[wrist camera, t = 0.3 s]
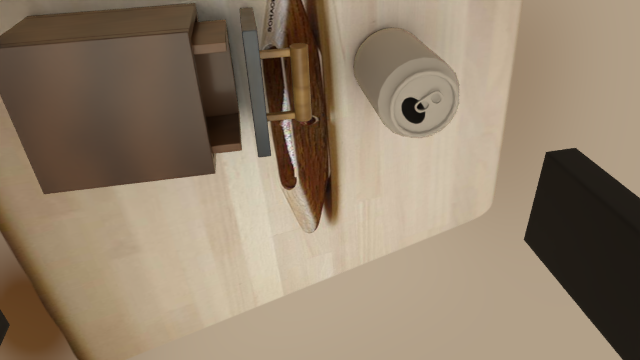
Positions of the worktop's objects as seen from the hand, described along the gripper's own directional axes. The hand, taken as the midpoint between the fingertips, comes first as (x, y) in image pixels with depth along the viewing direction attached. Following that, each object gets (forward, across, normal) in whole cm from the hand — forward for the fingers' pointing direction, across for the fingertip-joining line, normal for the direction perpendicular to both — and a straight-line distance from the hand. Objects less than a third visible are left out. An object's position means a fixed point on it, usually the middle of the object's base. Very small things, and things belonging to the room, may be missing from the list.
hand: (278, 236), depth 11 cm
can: (+38, +15, -11) cm, 43 cm away
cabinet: (+39, -11, -10) cm, 41 cm away
